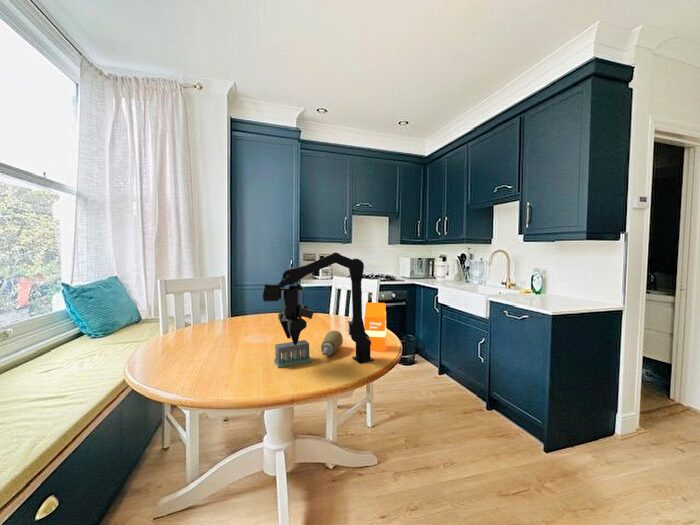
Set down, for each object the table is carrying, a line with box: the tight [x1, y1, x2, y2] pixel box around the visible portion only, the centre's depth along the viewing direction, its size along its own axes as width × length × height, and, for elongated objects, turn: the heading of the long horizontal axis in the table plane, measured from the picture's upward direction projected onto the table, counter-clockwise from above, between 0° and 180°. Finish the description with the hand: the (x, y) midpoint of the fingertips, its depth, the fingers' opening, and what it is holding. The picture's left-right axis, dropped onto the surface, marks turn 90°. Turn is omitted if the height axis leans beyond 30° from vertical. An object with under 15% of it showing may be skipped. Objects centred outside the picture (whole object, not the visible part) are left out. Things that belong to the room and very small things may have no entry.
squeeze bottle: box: [320, 330, 344, 356], centre depth 125 cm, size 8×8×18 cm
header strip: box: [273, 350, 313, 369], centre depth 116 cm, size 13×7×4 cm, turn 117°
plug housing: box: [274, 339, 310, 364], centre depth 116 cm, size 12×5×6 cm, turn 117°
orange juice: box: [363, 302, 387, 352], centre depth 131 cm, size 8×9×20 cm
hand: (292, 341), depth 116 cm, fingers open, 9 cm apart
